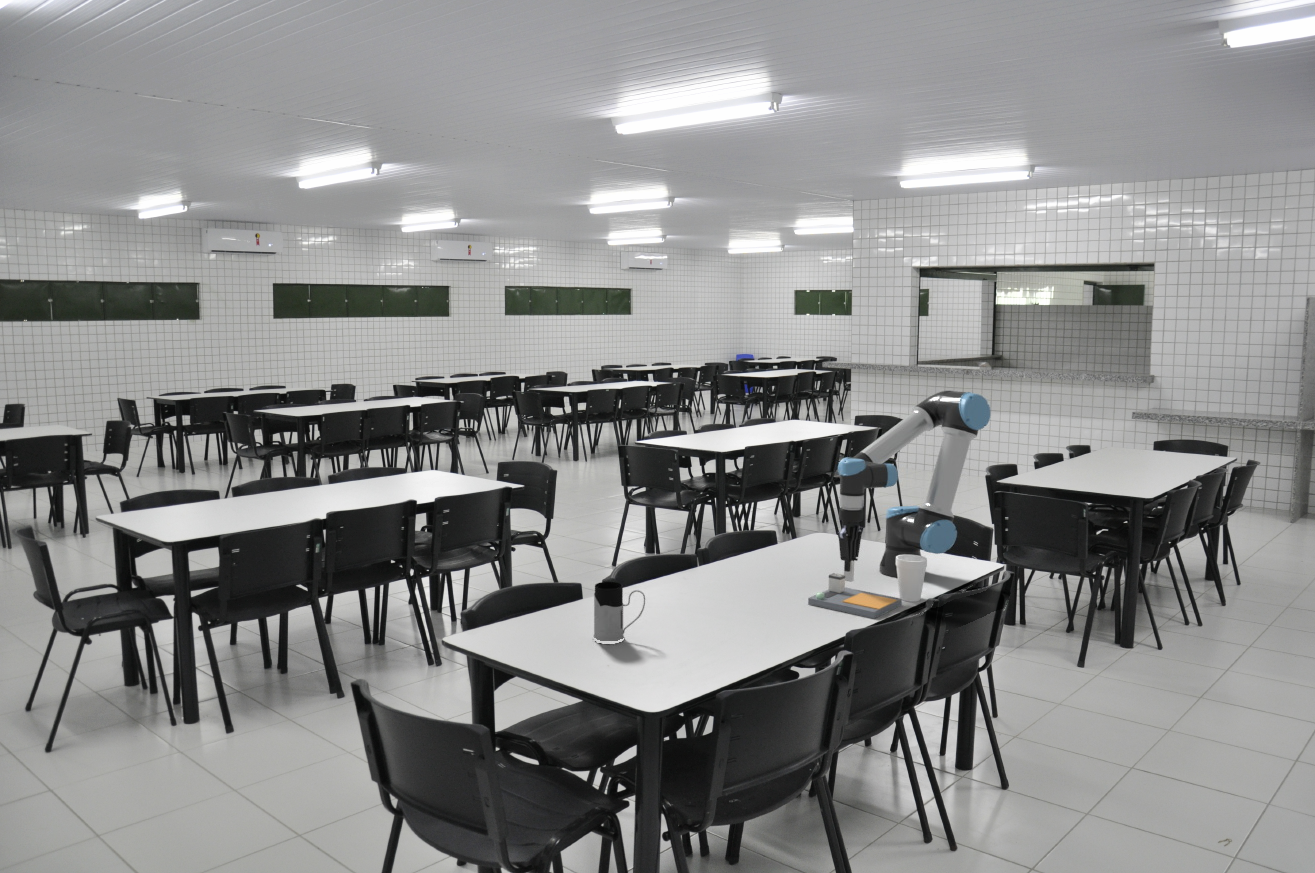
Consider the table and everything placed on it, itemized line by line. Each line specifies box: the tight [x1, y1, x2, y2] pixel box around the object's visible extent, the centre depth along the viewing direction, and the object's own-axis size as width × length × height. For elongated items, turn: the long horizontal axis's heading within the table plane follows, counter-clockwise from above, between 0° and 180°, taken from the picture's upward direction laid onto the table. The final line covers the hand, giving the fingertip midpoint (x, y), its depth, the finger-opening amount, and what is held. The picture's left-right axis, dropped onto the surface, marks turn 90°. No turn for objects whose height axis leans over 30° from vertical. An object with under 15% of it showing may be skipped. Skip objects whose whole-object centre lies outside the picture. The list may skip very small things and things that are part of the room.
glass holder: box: [593, 581, 646, 641], centre depth 260 cm, size 9×14×15 cm, turn 88°
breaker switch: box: [828, 572, 846, 593], centre depth 301 cm, size 3×4×5 cm
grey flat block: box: [807, 586, 903, 620], centre depth 294 cm, size 18×22×4 cm
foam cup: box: [896, 555, 928, 603], centre depth 300 cm, size 10×9×13 cm
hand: (848, 580), depth 307 cm, fingers closed
